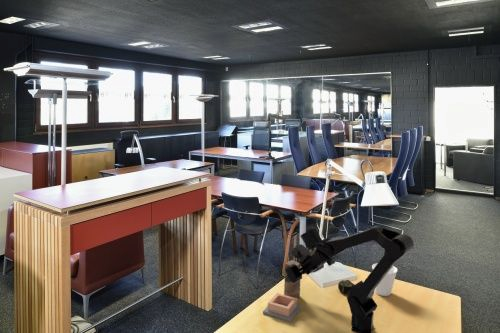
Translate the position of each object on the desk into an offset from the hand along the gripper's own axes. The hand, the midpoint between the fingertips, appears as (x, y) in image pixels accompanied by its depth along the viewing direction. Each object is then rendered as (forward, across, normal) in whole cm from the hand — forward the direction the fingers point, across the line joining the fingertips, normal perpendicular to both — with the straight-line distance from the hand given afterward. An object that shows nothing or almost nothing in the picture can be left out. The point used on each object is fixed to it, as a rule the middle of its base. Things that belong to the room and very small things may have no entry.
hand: (292, 276), depth 151 cm
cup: (-11, -29, +23) cm, 39 cm away
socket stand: (+3, +11, +9) cm, 15 cm away
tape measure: (-3, -20, +15) cm, 26 cm away
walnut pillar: (+6, 0, +6) cm, 8 cm away
